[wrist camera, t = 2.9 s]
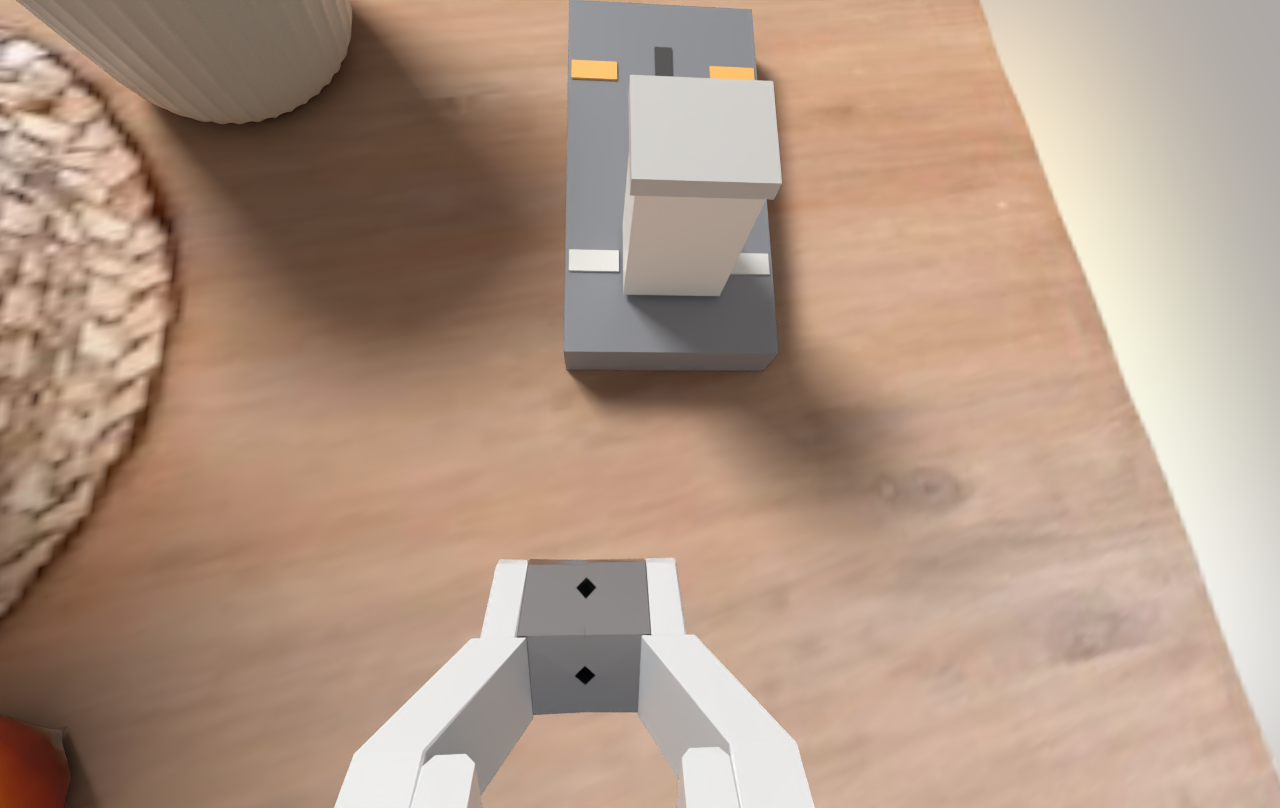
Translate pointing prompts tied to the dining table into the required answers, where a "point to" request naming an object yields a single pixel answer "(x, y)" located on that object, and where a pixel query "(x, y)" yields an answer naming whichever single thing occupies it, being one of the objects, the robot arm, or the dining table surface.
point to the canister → (209, 50)
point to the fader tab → (695, 180)
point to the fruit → (32, 766)
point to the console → (595, 195)
